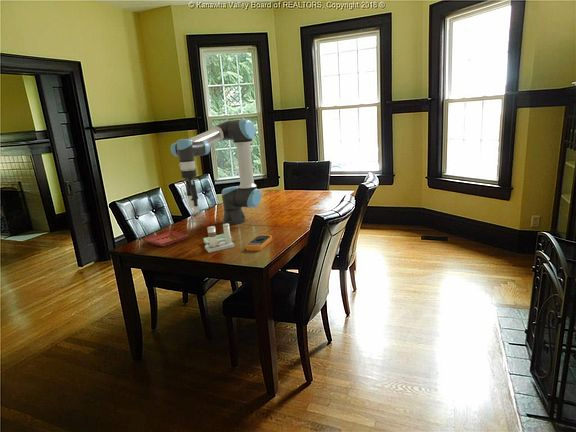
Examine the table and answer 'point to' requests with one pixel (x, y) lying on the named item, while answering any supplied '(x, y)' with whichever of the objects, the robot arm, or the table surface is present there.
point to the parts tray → (219, 239)
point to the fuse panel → (219, 246)
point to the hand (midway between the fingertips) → (194, 210)
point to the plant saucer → (166, 240)
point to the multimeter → (258, 243)
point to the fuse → (227, 233)
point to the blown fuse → (212, 237)
